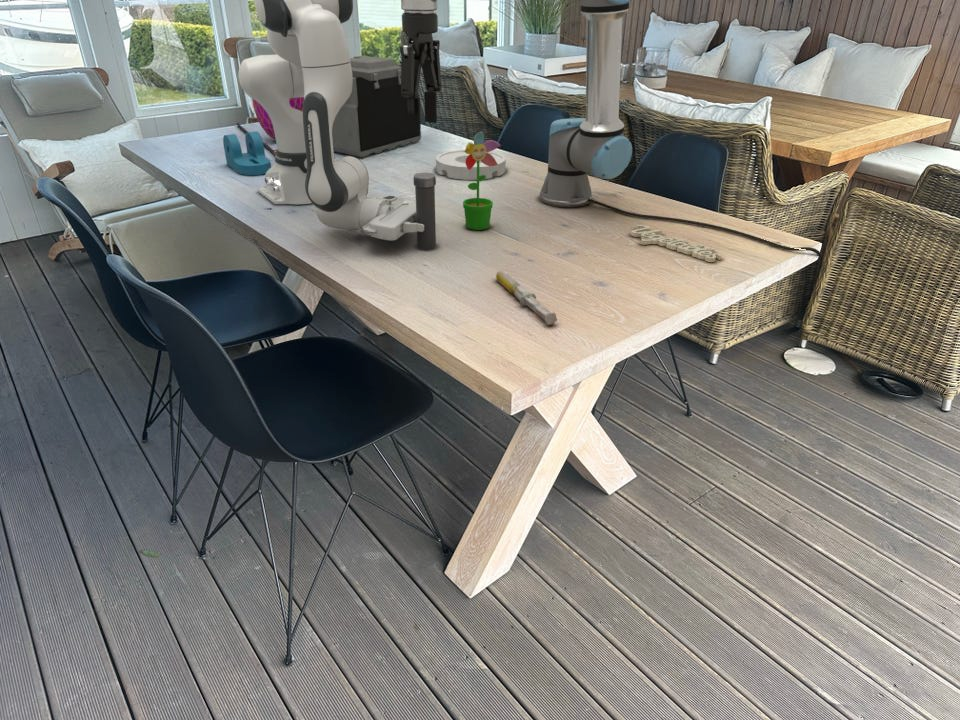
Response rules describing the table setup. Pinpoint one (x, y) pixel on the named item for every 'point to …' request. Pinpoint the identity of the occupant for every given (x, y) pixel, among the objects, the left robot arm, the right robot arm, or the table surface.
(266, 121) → the decorative egg
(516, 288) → the syringe
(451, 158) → the ashtray
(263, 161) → the camera mount
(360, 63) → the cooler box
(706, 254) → the decorative sign
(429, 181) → the lid
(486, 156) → the potted flower
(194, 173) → the table surface
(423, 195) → the bottle
